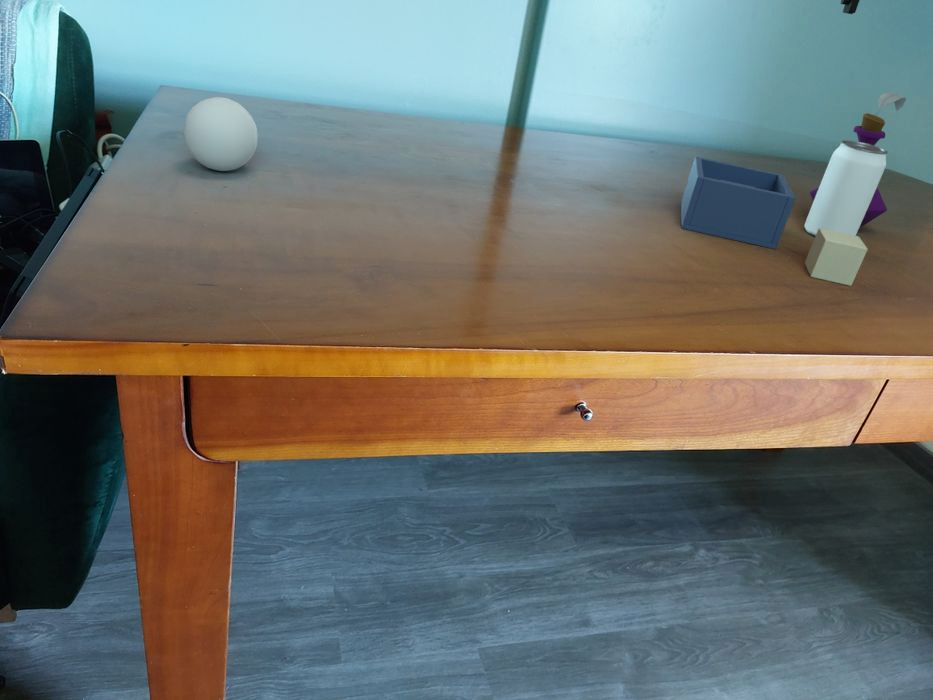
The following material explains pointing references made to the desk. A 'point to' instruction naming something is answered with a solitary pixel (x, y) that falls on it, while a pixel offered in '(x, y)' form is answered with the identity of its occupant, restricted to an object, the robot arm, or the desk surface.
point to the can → (846, 188)
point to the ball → (220, 134)
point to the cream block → (835, 256)
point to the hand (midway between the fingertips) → (894, 20)
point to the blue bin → (736, 202)
